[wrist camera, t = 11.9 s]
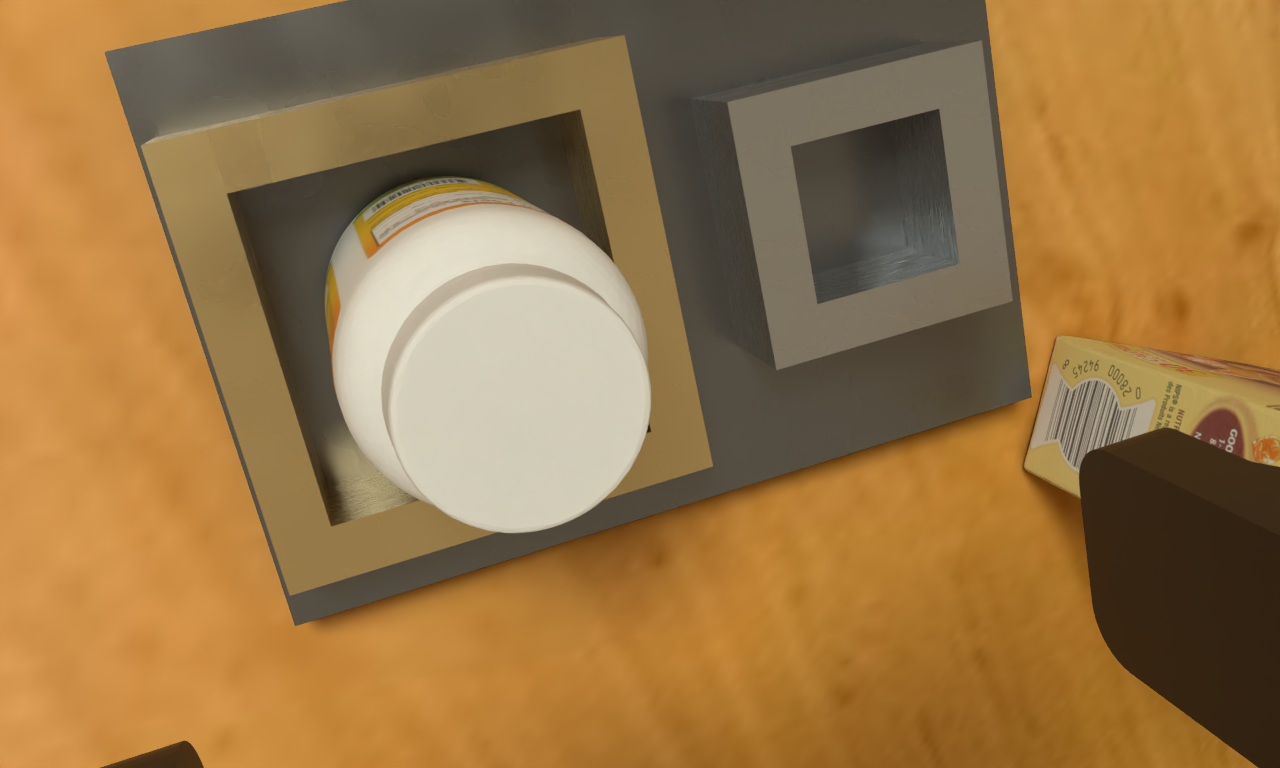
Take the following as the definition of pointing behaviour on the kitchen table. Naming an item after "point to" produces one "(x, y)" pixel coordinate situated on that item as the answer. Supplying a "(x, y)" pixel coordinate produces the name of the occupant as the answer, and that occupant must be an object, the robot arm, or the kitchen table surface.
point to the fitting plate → (595, 232)
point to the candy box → (1148, 405)
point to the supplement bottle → (486, 354)
